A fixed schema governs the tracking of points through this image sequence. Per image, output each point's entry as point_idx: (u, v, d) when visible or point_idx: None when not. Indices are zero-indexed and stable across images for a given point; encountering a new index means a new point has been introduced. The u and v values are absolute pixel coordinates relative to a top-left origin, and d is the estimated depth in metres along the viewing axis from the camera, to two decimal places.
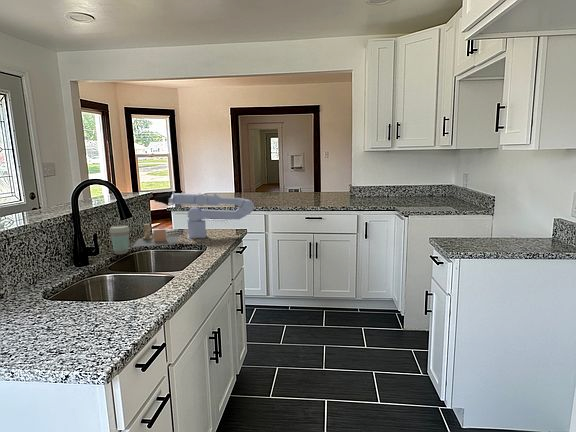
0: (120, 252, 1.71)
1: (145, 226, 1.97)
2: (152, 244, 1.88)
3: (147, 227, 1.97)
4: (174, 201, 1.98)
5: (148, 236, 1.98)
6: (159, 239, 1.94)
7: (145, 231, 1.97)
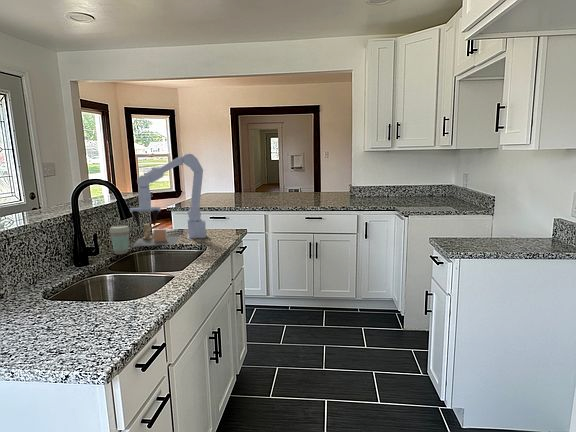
0: (120, 252, 1.71)
1: (145, 226, 1.97)
2: (152, 244, 1.88)
3: (147, 227, 1.97)
4: None
5: (148, 236, 1.98)
6: (159, 239, 1.94)
7: (145, 231, 1.97)
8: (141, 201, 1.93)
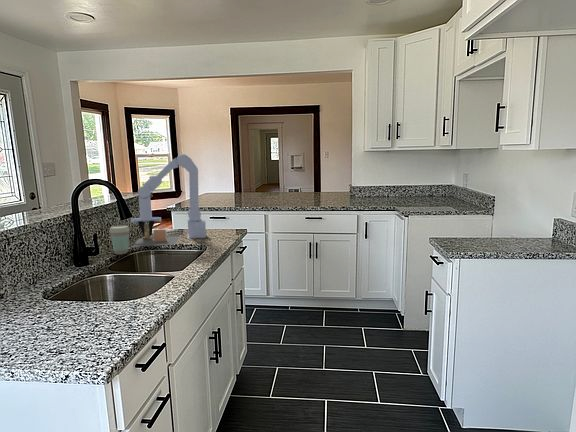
0: (120, 252, 1.71)
1: (145, 226, 1.97)
2: (152, 244, 1.88)
3: (147, 227, 1.97)
4: None
5: (148, 236, 1.98)
6: (159, 239, 1.94)
7: (145, 231, 1.97)
8: (142, 212, 1.94)
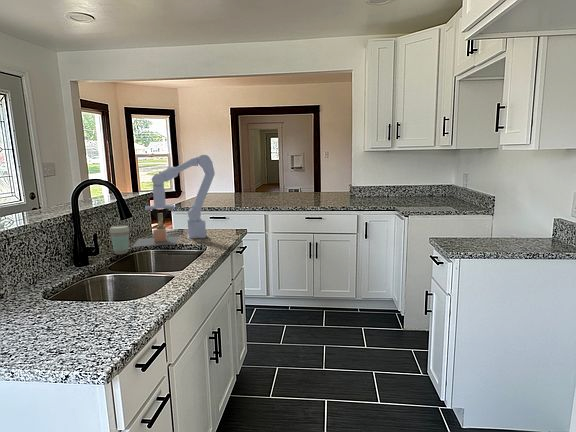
0: (120, 252, 1.71)
1: (159, 215, 1.98)
2: (152, 244, 1.88)
3: (161, 217, 1.98)
4: None
5: (162, 225, 1.99)
6: (159, 239, 1.94)
7: (159, 220, 1.98)
8: (156, 199, 1.96)
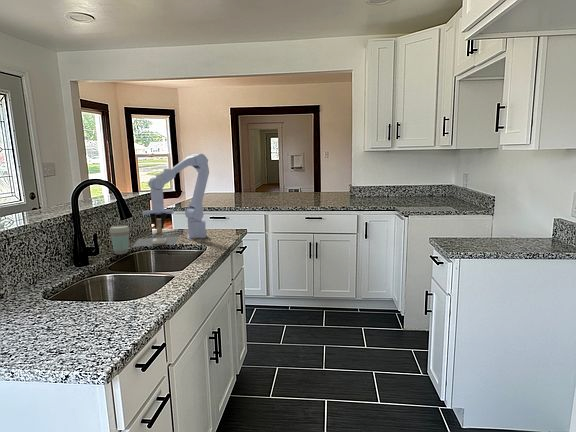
0: (120, 252, 1.71)
1: (157, 221, 1.91)
2: (152, 244, 1.88)
3: (160, 222, 1.91)
4: None
5: (160, 231, 1.92)
6: None
7: (157, 226, 1.91)
8: (154, 204, 1.88)
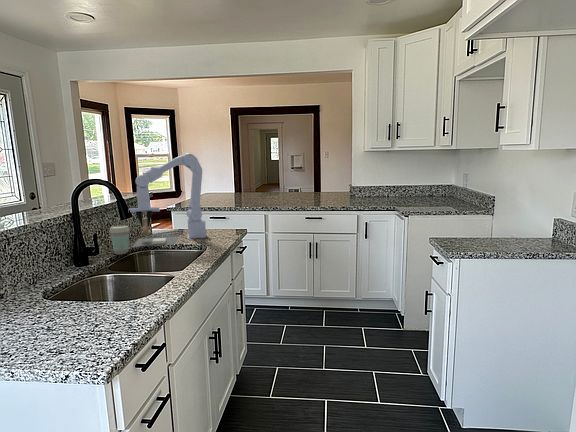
0: (120, 252, 1.71)
1: (143, 220, 1.92)
2: (152, 244, 1.88)
3: (146, 221, 1.93)
4: None
5: (146, 230, 1.93)
6: None
7: (143, 225, 1.93)
8: (140, 201, 1.89)
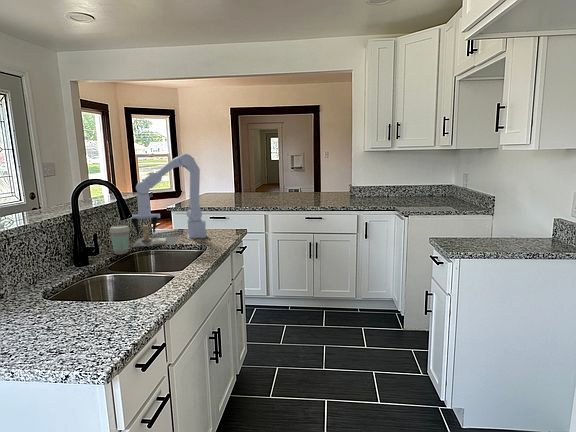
0: (120, 252, 1.71)
1: (144, 227, 1.93)
2: (152, 244, 1.88)
3: (146, 229, 1.93)
4: None
5: (147, 238, 1.94)
6: None
7: (144, 232, 1.93)
8: (140, 208, 1.90)
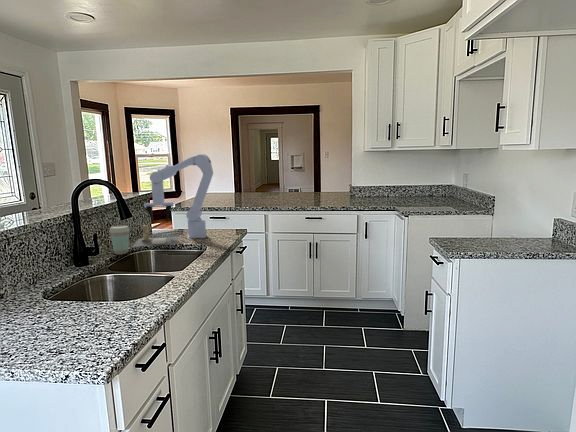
0: (120, 252, 1.71)
1: (144, 227, 1.93)
2: (152, 244, 1.88)
3: (146, 229, 1.93)
4: None
5: (147, 238, 1.94)
6: None
7: (144, 232, 1.93)
8: (155, 197, 1.99)
